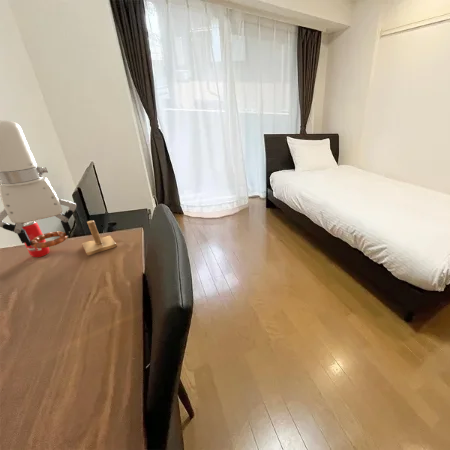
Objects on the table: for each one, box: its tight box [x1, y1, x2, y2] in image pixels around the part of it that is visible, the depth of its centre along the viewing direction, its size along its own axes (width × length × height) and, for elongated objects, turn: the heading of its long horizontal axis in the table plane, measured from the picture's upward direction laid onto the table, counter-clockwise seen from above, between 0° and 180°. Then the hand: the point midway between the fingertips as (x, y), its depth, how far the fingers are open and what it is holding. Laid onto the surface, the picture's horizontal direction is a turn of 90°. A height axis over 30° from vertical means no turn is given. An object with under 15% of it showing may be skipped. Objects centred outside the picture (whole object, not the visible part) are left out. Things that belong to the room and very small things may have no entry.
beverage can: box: [22, 220, 50, 258], centre depth 93 cm, size 5×5×12 cm
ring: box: [31, 230, 69, 248], centre depth 74 cm, size 8×8×1 cm
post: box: [81, 220, 118, 256], centre depth 98 cm, size 9×9×10 cm
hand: (49, 238), depth 73 cm, fingers closed on ring, 7 cm apart
